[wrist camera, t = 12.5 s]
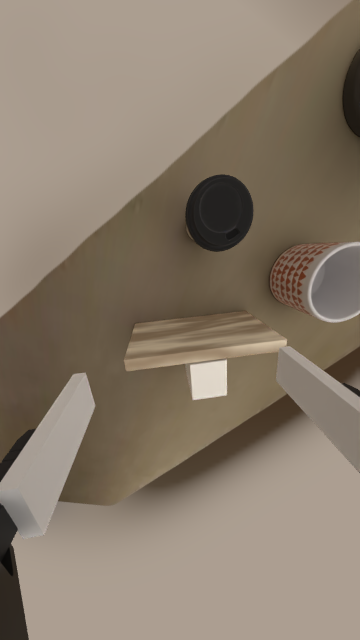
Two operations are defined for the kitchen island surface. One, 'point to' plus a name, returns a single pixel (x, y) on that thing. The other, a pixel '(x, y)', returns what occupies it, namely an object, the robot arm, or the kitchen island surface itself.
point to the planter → (319, 280)
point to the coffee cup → (219, 213)
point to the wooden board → (199, 340)
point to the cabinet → (207, 378)
